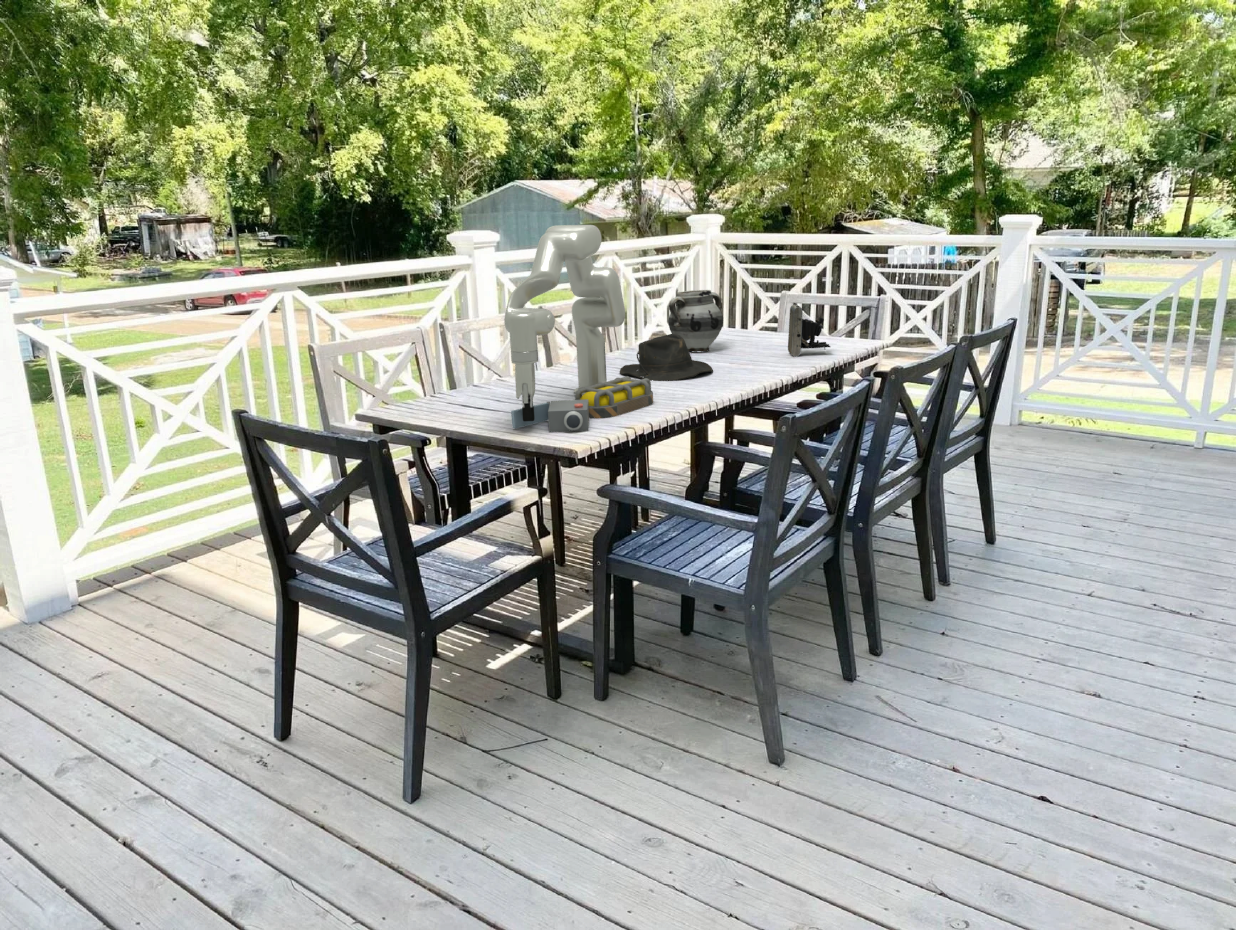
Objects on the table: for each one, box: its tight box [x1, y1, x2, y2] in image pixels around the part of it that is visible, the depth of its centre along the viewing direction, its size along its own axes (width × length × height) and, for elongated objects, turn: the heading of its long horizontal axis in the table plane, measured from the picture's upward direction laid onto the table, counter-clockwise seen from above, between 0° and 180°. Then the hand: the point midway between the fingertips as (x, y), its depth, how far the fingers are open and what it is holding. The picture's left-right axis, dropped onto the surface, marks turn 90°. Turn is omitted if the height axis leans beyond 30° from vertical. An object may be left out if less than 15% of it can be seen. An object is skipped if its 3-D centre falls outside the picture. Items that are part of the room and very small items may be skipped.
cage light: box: [574, 375, 654, 420], centre depth 287 cm, size 15×8×30 cm
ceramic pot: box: [667, 289, 724, 352], centre depth 384 cm, size 29×23×25 cm
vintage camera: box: [787, 303, 831, 357], centre depth 366 cm, size 10×16×20 cm, turn 89°
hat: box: [619, 333, 714, 382], centre depth 341 cm, size 32×35×14 cm
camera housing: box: [547, 399, 590, 433], centre depth 266 cm, size 16×11×7 cm
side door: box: [510, 401, 551, 429], centre depth 269 cm, size 14×1×5 cm, turn 136°
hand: (528, 420), depth 264 cm, fingers closed
